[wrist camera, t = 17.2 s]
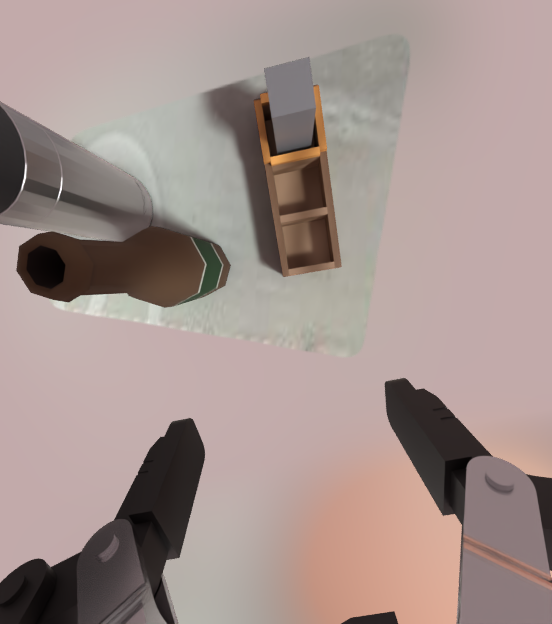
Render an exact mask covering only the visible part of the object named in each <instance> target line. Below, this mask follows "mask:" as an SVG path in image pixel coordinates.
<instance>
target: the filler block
mask: <svg viewBox="0 0 552 624" xmlns="http://www.w3.org/2000/svg"><path fill="white" fill-rule="evenodd" d="M264 72H265V78H266V85H267V91H268V97H269V104H270V110H271V116H272V123H273V129H274V135H275V142H276V148H277V154H278V155H283V154H287V153H292V152H296V151H301V150H305V149H310V148H311V143H312V136H313V128H314V120H315V112H316V103H315V96H314V88H313V81H312V74H311V66H310V59H309V57H308V58H303V59H299V60H296V61H292V62H288V63H284V64H280V65H276V66H272V67H269V68H264Z"/></svg>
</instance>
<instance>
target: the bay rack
mask: <svg viewBox="0 0 552 624" xmlns="http://www.w3.org/2000/svg"><path fill="white" fill-rule="evenodd" d="M313 88H314V96H315V103H316V112H315V120H314V128H313V136H312V143H311V148H310V149H305V150H301V151H296V152H292V153H287V154H283V155H278V154H277V148H276V142H275V135H274V129H273V123H272V116H271V110H270V104H269V97H268V92H267V93H263V94H260V97H261V98H260V99H256V100H254V106H255V112H256V118H257V124H258V130H259V136H260V142H261V148H262V154H263V160H264V165H265V171H266V177H267V183H268V189H269V195H270V201H271V207H272V213H273V219H274V225H275V231H276V237H277V243H278V249H279V255H280V261H281V267H282V273H283V277H286V276H292V275H298V274H304V273H309V272H315V271H321V270H327V269H333V268H339V267H342V266H341V258H340V251H339V243H338V235H337V228H336V220H335V212H334V205H333V197H332V189H331V182H330V174H329V166H328V159H327V145H326V137H325V130H324V122H323V114H322V106H321V99H320V91H319V85H314V86H313Z"/></svg>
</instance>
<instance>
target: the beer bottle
mask: <svg viewBox="0 0 552 624" xmlns="http://www.w3.org/2000/svg"><path fill="white" fill-rule="evenodd" d="M230 266H231V265H230V263H229V261H228V260H227V258H226V256H225V254H224V252H223V250H222V249H221V247H220V246H218V245H216V244H213V243H210V242H207V241H203V240H200V239H197V238H194V237H190V236H187V235H184V234H181V233H177V232H174V231H171V230H167V229H164V228H160V227H154V226H150V227H148V228H146V229H143V230H141V231H140V232H138V233H136V234H135V235H133V236H132V237H130V238H128V239H127V240H125V241H123V242H114V241H96V240H79V239H76V238H72V237H69V236H66V235H63V234H60V233H57V232H53V231H52V232H46V233H40V234H37V235H36V236H34V237H33V238H31V239H30V240H28V241H27V242H25V243H24V244H22V245H21V246H19V253H18V262H17V272H18V274H19V275H20V276H21V278H22V280H23V281H24V283H25V285H26V286H27V288H28V289H29V291H30V292H31V293H34V294H37V295H40V296H43V297H46V298H49V299H53V300H58V301H64V302H70V301H72V300H73V299H75V298H77V297H78V296H80V295H96V294H116V293H127V294H128V295H129V296H131V297H134V298H136V299H139V300H143V301H146V302H149V303H152V304H155V305H158V306H161V307H172V306H176V305H179V304H182V303H186V302H189V301H192V300H195V299H198V298H202V297H204V296H206V295H208V294H210V293H212V292H214V291H216V290H218V289H219V288H221V287H223V286H225V284H226V281H227V277H228V273H229V269H230Z"/></svg>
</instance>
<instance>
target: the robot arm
mask: <svg viewBox="0 0 552 624" xmlns="http://www.w3.org/2000/svg"><path fill="white" fill-rule="evenodd" d="M152 213H153V208H152V201H151V198H150V195H149V193H148V191H147V190H146V188H145V187H144V186H143V184H142V183H141V182H140V181H138V180H137V179H136V178H134V177H133V176H131V175H129V174H127V173H126V172H124V171H122V170H120V169H118V168H117V167H115V166H113V165H112V164H110V163H108V162H106V161H105V160H103V159H101V158H99V157H98V156H96V155H94V154H92V153H90V152H89V151H87V150H85V149H83V148H82V147H80V146H78V145H76V144H75V143H73V142H71V141H69V140H67V139H66V138H64V137H62V136H60V135H59V134H57V133H55V132H53V131H52V130H50V129H48V128H46V127H45V126H43V125H41V124H39V123H37V122H36V121H34V120H32V119H30V118H29V117H27V116H25V115H23V114H21V113H19V112H18V111H16V110H14V109H12V108H10V107H9V106H7V105H5V104H4V103H2V102H0V224H3V225H11V226H18V227H24V228H30V229H37V230H44V231H50V232H52V231H53V232H57V233H63V234H70V235H76V236H83V237H89V238H96V239H101V240H108V241H115V242H123V241H125V240H127V239H128V238H130V237H132V236H133V235H135V234H136V233H138V232H140V231H141V230H143V229H146V228H148V227H149V225H150V223H151V220H152ZM385 396H386V409H387V416H388V419H389V422H390V425H391V427H392V429H393V430H394V432H395V433H396V436H397V437H398V439H399V441H400V443H401V444H402V446H403V448H404V449H405V451H406V453H407V455H408V456H409V458H410V460H411V461H412V463H413V465H414V467H415V468H416V470H417V472H418V474H419V475H420V477H421V478H422V480H423V482H424V484H425V486H426V487H427V489H428V490H429V492H430V494H431V496H432V498H433V499H434V501H435V503H436V504H437V506H438V508H439V510H440V511H441V513H442V515H443V516H444V515H450V514H455V515H456V516H457V518H458V519H459V521H460V523H461V524H462V536H461V554H460V573H459V593H458V609H457V624H552V578H551V575H550V570H551V571H552V478H546V477H538V476H532V475H527V474H525V473H524V472H523V471H521V470H520V469H519V468H517V467H516V466H514V465H512V464H511V463H509V462H507V461H505V460H502V459H499V458H496V457H493V456H492V455H491V454H490V453H489V452H488V451H487V450H486V449H485V448H484V447H483V446H482V445H481V443H480V442H479V441H478V440H477V439H476V438H475V437H474V436H473V435H472V434H471V433H470V432H469V430H467V428H466V427H465V426H464V425H463V424H462V423H461V422H460V421H459V420H458V419H457V418H455V416H454V414H453V413H452V412H451V411H450V410H449V409H447V407H446V406H445V405H444V404H443V402H442V401H441V400H440V399H439V398H438V397H437V396H435V395H434V394H432V393H430V392H428V391H427V390H425V389H419V390H416V389H415V388H414V387H413V386H412V385H411V383H410V382H409V381H408V380H407V379H405V378H402V379H397V380H392V381H386V382H385ZM204 458H205V450H204V445H203V442H202V440H201V437H200V435H199V433H198V430H197V428H196V426H195V423H194V421H193V419H191V418H188V419H183V420H178V421H173V422H172V423H171V424H170V426H169V428H168V430H167V432H166V435H165V436H164V437H160V438H159V439H158V440H157V441H156V443H155V444H154V445H153V446H152V447H151V448H150V450H149V452H148V454H147V456H146V458H145V460H144V463H143V464H142V466H141V468H140V470H139V472H138V475H137V476H136V478H135V480H134V482H133V484H132V485H131V488H130V489H129V491H128V493H127V496H126V498H125V500H124V501H123V503H122V505H121V507H120V509H119V511H118V513H117V515H116V518H115V519H114V521H112V522H110V523H108V524H106V525H105V526H103V527H102V528H101V529H99V530H98V531H97V532H96V533H95V534H94V535H93V536H92V537H91V538H90V540H89V541H88V542H87V544H86V545H85V547H84V548H83V550H82V552H80V553H78V554H76V555H74V556H72V557H70V558H68V559H66V560H64V561H62V562H60V563H58V564H56V565H54V566H52V567H50V566H49V565H48V564H47V563H46V562H45V561H44V560H43V559H34V560H31V561H28V562H26V563H25V564H23V565H21V566H19V567H18V568H17V569H15V570H14V571H13V572H11V573H10V574H9V575H8V576H7V577H6V578H5V579H4V580H3V581H2V582H1V583H0V624H178V620H177V617H176V614H175V610H174V607H173V604H172V600H171V597H170V594H169V590H168V587H167V584H166V580H165V577H164V575H163V569H164V566H165V563H166V560H169V559H175V558H179V557H180V553H181V549H182V545H183V541H184V538H185V534H186V529H187V526H188V522H189V518H190V514H191V511H192V507H193V503H194V499H195V495H196V491H197V487H198V483H199V479H200V475H201V472H202V468H203V464H204ZM342 624H398V622H397V619H396V616H395V612H387V613H380V614H374V615H367V616H361V617H353V618H350V619H348V620H347V621H345V622H343V623H342Z"/></svg>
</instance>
